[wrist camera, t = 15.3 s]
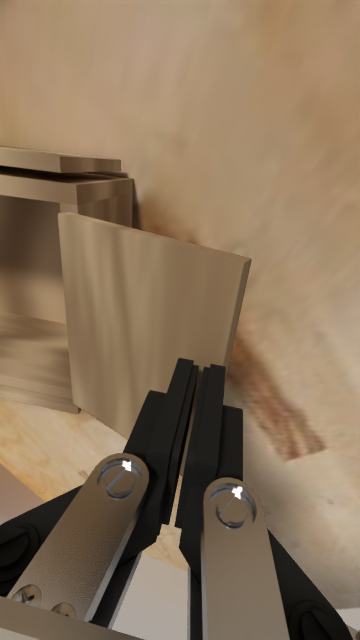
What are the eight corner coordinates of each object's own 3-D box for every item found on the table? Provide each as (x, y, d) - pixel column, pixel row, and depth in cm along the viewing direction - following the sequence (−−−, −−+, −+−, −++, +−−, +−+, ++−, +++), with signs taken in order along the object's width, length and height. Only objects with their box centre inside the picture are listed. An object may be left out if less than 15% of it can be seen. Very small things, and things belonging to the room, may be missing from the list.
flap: (73, 403, 17) (198, 486, 13) (57, 213, 12) (243, 262, 9) (81, 397, 17) (204, 477, 14) (70, 212, 13) (251, 258, 9)
